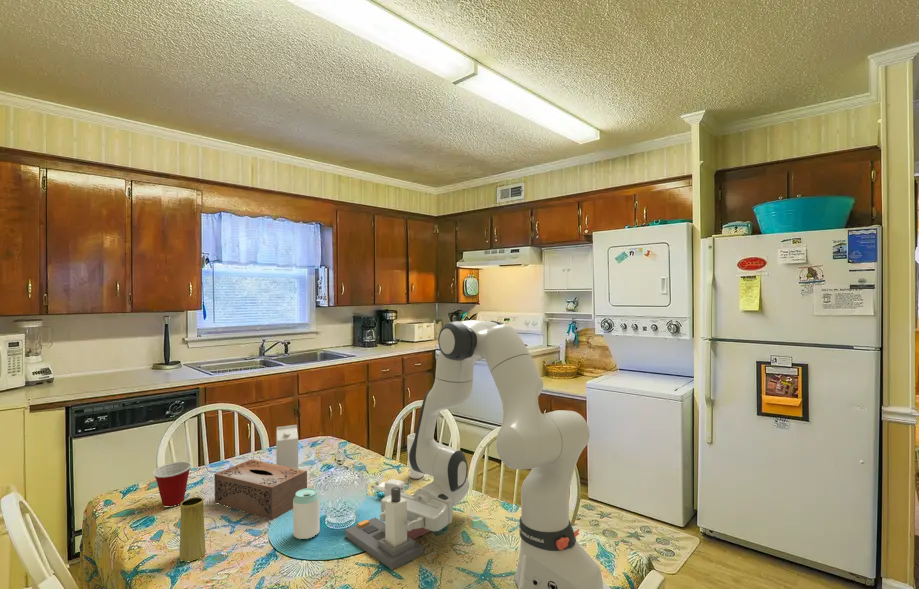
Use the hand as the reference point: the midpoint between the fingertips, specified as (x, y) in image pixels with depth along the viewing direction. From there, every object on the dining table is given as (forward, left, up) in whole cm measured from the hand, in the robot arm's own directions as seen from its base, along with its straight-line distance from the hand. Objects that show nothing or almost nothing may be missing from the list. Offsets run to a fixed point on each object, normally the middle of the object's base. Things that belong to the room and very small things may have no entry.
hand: (393, 522), depth 120 cm
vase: (+37, +37, -9) cm, 53 cm away
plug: (0, -1, -9) cm, 9 cm away
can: (+26, +11, -9) cm, 30 cm away
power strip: (+6, -1, -9) cm, 11 cm away
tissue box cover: (+56, +12, -9) cm, 58 cm away
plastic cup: (+75, +33, -9) cm, 83 cm away
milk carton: (+70, -3, -9) cm, 71 cm away
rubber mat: (+8, -12, -9) cm, 17 cm away
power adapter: (+29, -19, -9) cm, 36 cm away
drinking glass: (+36, -37, -9) cm, 52 cm away
